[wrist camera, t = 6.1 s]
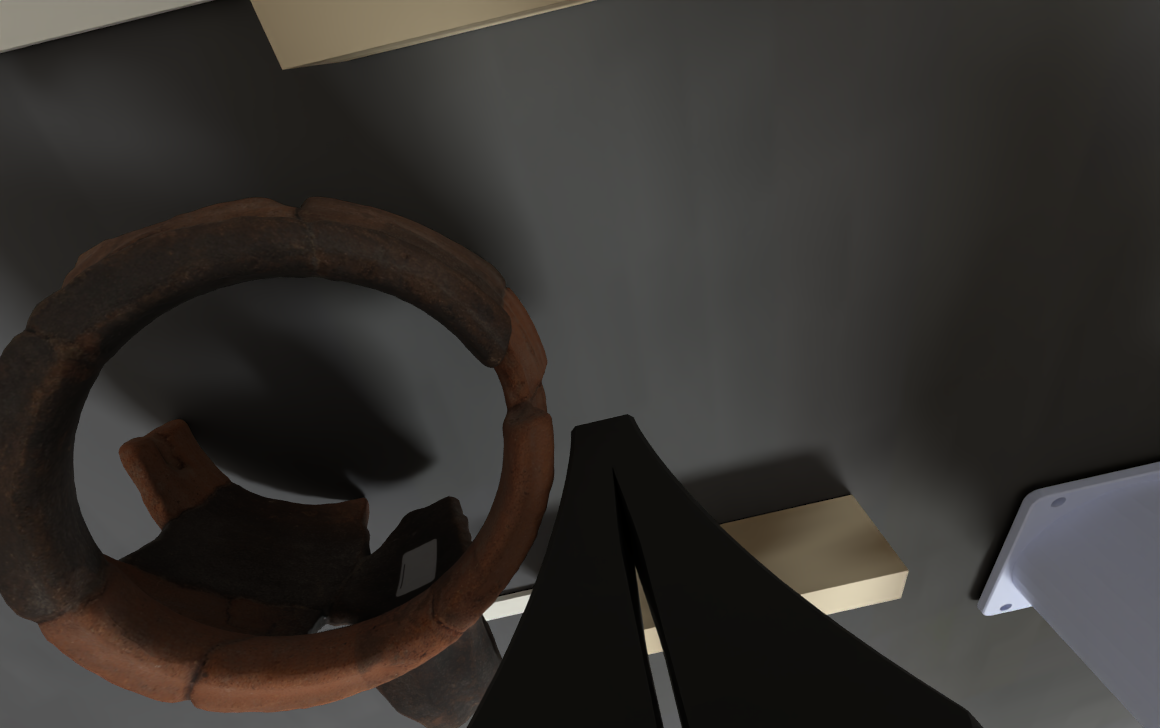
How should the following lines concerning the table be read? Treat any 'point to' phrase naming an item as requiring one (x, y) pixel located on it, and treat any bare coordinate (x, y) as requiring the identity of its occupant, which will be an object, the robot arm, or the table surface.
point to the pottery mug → (249, 521)
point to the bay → (84, 3)
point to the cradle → (778, 540)
